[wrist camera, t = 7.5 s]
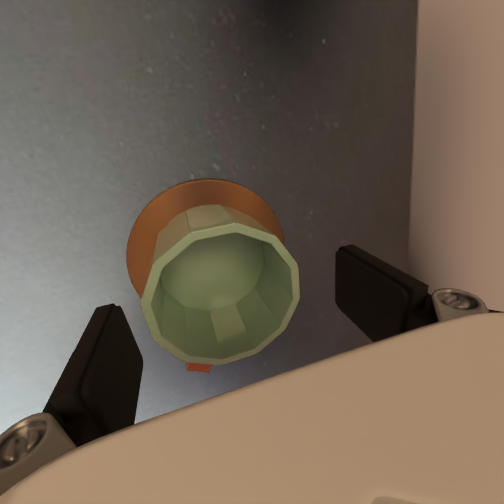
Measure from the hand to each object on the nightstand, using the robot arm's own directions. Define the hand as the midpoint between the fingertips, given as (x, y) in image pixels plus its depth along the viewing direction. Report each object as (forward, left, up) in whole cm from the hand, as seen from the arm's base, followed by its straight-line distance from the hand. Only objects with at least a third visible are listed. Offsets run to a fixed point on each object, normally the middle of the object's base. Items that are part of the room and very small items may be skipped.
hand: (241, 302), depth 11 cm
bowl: (+1, 0, -6) cm, 6 cm away
